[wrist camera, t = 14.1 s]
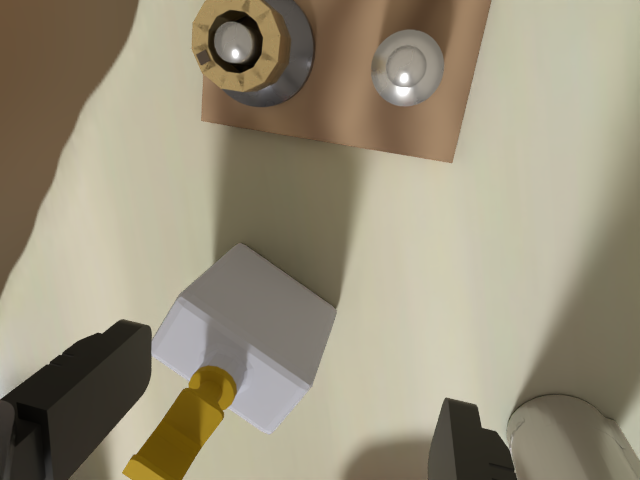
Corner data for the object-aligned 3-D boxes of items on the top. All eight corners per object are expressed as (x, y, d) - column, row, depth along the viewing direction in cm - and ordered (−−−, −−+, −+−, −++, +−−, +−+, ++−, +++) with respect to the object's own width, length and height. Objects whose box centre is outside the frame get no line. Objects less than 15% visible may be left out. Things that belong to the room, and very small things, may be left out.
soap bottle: (340, 308, 45) (271, 517, 23) (305, 352, 47) (213, 579, 25) (240, 238, 44) (73, 382, 23) (210, 286, 47) (33, 457, 25)
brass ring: (270, -17, 32) (255, -28, 29) (303, 70, 34) (292, 68, 31) (196, 21, 34) (176, 15, 31) (231, 103, 36) (214, 104, 33)
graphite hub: (322, -5, 35) (303, -25, 29) (307, 114, 38) (287, 119, 32) (213, -19, 36) (172, -40, 30) (207, 98, 39) (170, 100, 33)
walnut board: (491, -12, 34) (495, -16, 32) (450, 160, 38) (452, 163, 37) (216, -43, 37) (208, -48, 35) (208, 119, 41) (201, 120, 40)
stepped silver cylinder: (448, 38, 34) (456, 28, 28) (433, 109, 36) (437, 114, 30) (380, 30, 35) (373, 18, 29) (369, 99, 36) (360, 102, 30)
